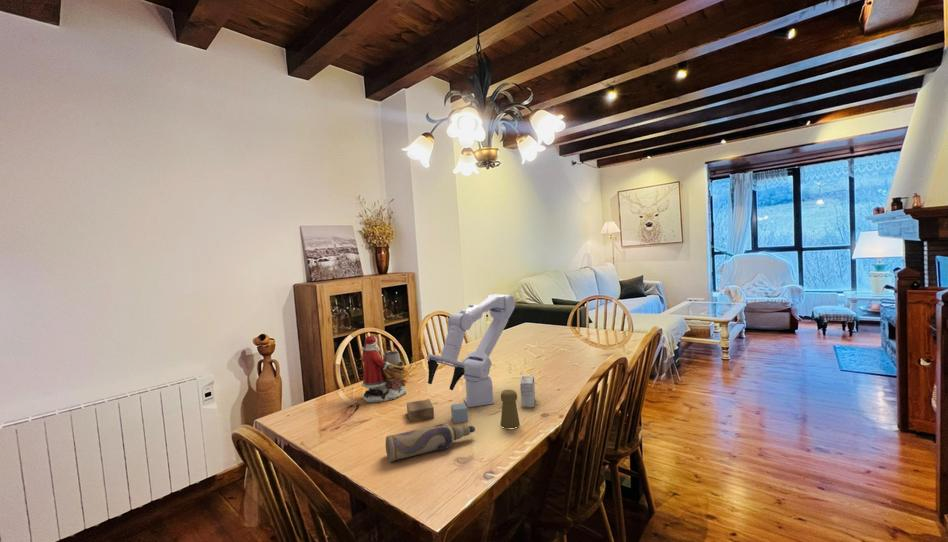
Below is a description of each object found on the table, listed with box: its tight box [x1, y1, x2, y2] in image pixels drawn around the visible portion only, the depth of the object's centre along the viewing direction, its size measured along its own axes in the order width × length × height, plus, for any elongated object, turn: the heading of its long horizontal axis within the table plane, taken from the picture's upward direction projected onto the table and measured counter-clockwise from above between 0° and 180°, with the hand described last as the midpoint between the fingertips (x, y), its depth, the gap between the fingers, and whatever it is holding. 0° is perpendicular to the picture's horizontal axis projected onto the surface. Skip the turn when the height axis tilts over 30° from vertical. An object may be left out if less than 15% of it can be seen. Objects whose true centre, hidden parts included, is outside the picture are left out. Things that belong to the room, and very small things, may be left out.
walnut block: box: [406, 398, 435, 423], centre depth 134 cm, size 8×8×4 cm
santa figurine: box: [360, 335, 407, 404], centre depth 154 cm, size 17×14×25 cm
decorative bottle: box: [385, 423, 476, 463], centre depth 111 cm, size 26×8×7 cm, turn 113°
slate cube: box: [450, 402, 469, 424], centre depth 130 cm, size 4×4×4 cm
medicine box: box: [519, 375, 536, 408], centre depth 140 cm, size 8×4×9 cm, turn 168°
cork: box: [500, 389, 521, 429], centre depth 123 cm, size 6×6×11 cm
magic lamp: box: [401, 356, 418, 384], centre depth 170 cm, size 7×18×11 cm, turn 94°
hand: (440, 386), depth 129 cm, fingers open, 7 cm apart
